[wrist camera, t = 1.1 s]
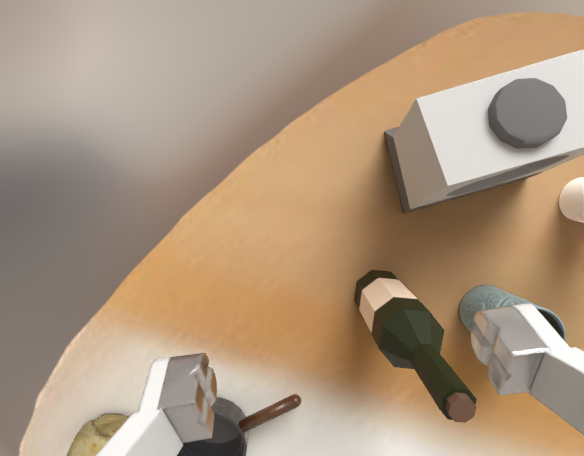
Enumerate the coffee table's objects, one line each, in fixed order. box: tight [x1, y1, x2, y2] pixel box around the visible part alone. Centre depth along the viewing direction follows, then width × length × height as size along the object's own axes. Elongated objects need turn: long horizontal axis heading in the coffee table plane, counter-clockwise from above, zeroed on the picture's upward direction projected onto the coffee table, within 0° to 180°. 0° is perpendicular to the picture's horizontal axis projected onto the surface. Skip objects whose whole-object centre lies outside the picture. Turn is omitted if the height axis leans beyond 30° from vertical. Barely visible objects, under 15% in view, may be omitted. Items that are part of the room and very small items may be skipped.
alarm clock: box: [384, 49, 584, 213], centre depth 48 cm, size 20×16×20 cm
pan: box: [177, 397, 249, 456], centre depth 64 cm, size 13×13×4 cm
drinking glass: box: [459, 285, 566, 342], centre depth 57 cm, size 10×10×12 cm
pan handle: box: [236, 394, 301, 432], centre depth 62 cm, size 12×2×2 cm, turn 118°
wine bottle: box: [354, 270, 476, 423], centre depth 47 cm, size 8×8×30 cm
